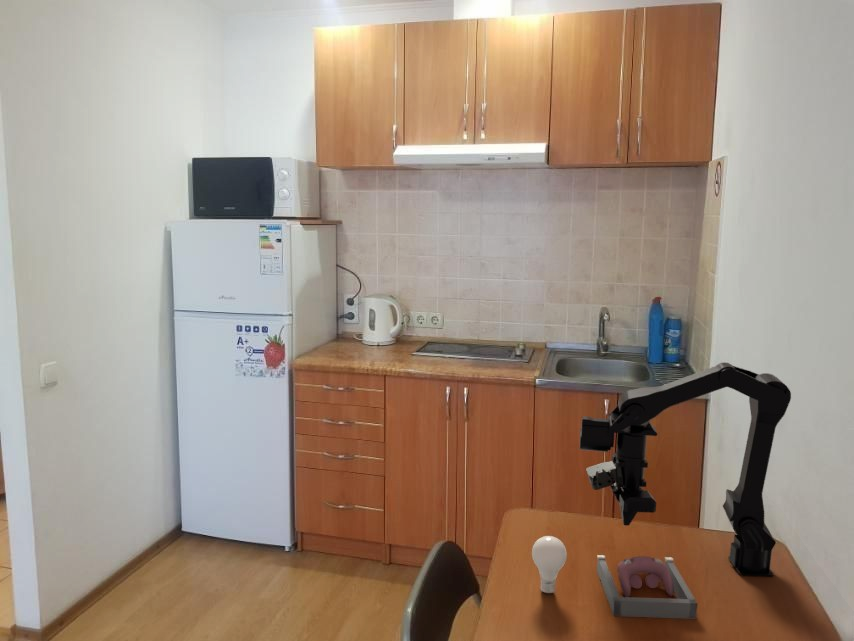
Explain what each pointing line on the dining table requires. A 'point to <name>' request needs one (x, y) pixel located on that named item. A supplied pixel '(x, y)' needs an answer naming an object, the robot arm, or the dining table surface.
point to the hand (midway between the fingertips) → (625, 524)
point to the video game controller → (644, 565)
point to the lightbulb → (548, 560)
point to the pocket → (649, 606)
